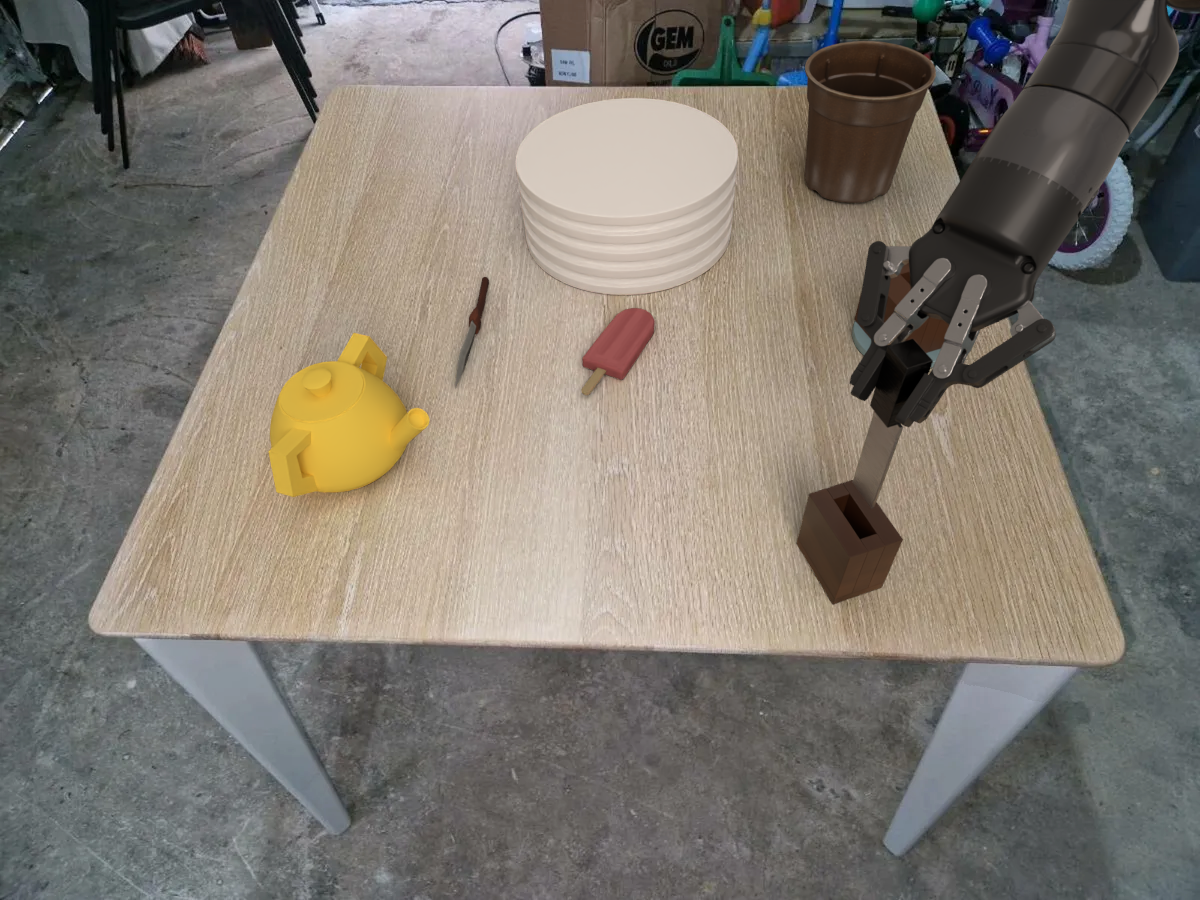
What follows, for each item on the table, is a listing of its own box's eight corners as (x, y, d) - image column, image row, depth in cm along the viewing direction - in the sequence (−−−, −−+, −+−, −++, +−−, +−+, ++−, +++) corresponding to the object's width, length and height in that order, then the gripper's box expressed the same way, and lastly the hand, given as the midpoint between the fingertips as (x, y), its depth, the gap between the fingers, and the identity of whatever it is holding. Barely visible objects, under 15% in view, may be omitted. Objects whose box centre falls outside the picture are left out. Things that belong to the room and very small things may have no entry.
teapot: (403, 545, 78) (373, 477, 69) (241, 509, 82) (194, 440, 73) (478, 400, 90) (460, 326, 81) (333, 374, 94) (302, 301, 85)
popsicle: (562, 381, 89) (623, 302, 97) (563, 391, 90) (623, 311, 98) (605, 396, 87) (663, 314, 95) (605, 406, 88) (663, 324, 96)
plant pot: (783, 151, 120) (798, 40, 107) (892, 148, 119) (921, 36, 106) (795, 214, 109) (814, 99, 97) (915, 212, 108) (949, 96, 96)
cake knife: (864, 477, 67) (910, 335, 55) (883, 504, 65) (936, 363, 53) (843, 484, 66) (885, 342, 54) (861, 512, 65) (909, 371, 52)
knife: (463, 396, 90) (458, 377, 88) (449, 395, 91) (444, 376, 88) (495, 291, 102) (491, 272, 100) (483, 291, 102) (479, 272, 100)
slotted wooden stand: (915, 298, 97) (932, 244, 91) (969, 356, 90) (993, 302, 84) (834, 321, 95) (847, 266, 89) (884, 382, 89) (901, 328, 82)
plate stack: (574, 321, 98) (566, 242, 89) (498, 205, 114) (485, 130, 105) (770, 255, 104) (781, 175, 95) (671, 155, 121) (673, 79, 112)
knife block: (842, 527, 77) (859, 477, 70) (881, 587, 72) (903, 539, 66) (795, 543, 76) (808, 493, 70) (832, 604, 71) (849, 557, 65)
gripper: (920, 122, 52) (779, 355, 56) (1142, 204, 45) (962, 462, 49) (942, 163, 58) (814, 370, 62) (1139, 241, 51) (980, 467, 55)
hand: (880, 409), depth 56 cm, fingers closed on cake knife, 3 cm apart
